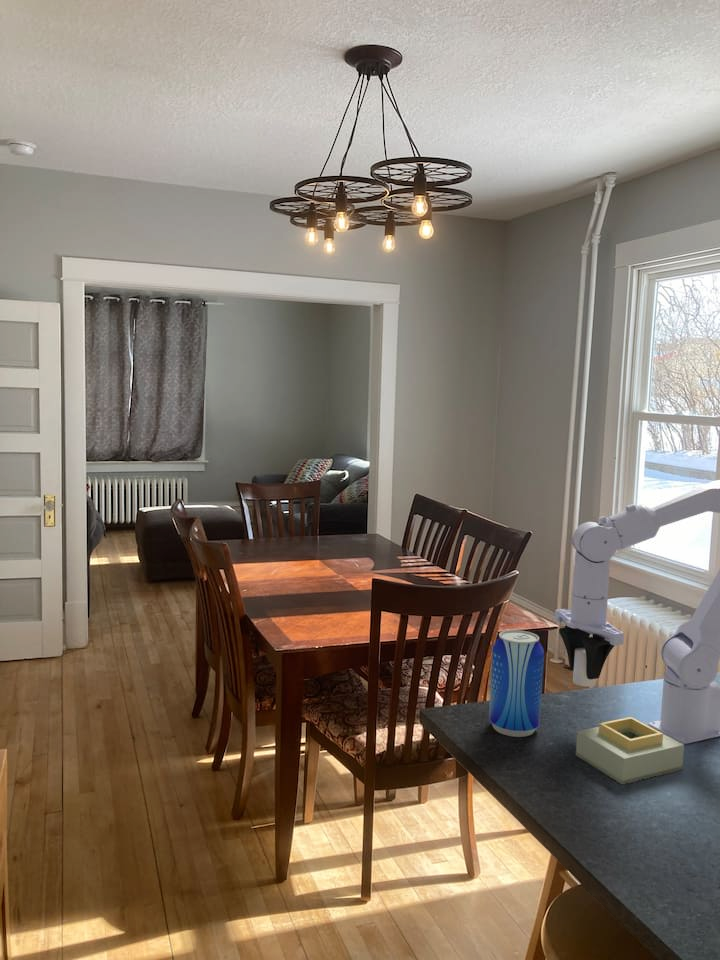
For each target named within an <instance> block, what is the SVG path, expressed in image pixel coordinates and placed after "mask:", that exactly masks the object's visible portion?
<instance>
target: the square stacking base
mask: <svg viewBox="0 0 720 960" xmlns="http://www.w3.org/2000/svg"><path fill="white" fill-rule="evenodd" d="M684 750H685V744H683V743H681V742H679V741H677V740H675V739H673V738H671V737H669V736H667V735H665V734H663V733H662V732H660V731H658V730H656V729H654V728H652V727H650V726H649V725H648V724H645V723H643V722H642V721H640V720H638V719H636V718H634V717H632V716H629V717H625V718H619V719H614V720H608V721H603V722H600V723H598V726H596V727H591V728H587V729H586V728H585V729H580V730H577V733H576V749H575V757H577V758H579V759H581V760H582V761H584V762H585V763H586V764H587V763H588V765H590V766H592V767H593V768H595V769H596V770H597V771H598V770H599V771H600V772H601V773H603V774H604V775H605V776H608V777H609V778H611V779H612V778H613V779H612V780H614V781H615V780H616V782H617V783H619V784H620V785H622V786H623V784H624V785H627V784H626V783H628V784H631V782H632V783H635V781H636V782H639V780H640V781H643V780H642V779H644V780H647V778H648V779H651V778H650V777H652V778H655V777H654V776H656V777H659V775H660V776H662V775H663V774H664V775H667V773H668V774H671V773H676V772H679V771H682V770H683V763H684V761H683V760H684V752H685V751H684Z"/></svg>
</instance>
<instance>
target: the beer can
mask: <svg viewBox="0 0 720 960" xmlns="http://www.w3.org/2000/svg"><path fill="white" fill-rule="evenodd" d="M544 659H545V650H544V648H543V646H542V644H541V642H540V637H539V635H538V634H536V633H533V632H530V631H526V630H521V629H520V630H519V629H507V630H503V631H500V632H499V634H498V637H497V639H496V641H495V642H494V643H493V646H492V653H491V673H490V692H489V707H488V708H489V709H488V721H489V723H491V725H492V727H493V729H494V730H495V731H496V732H497V733H499V734H501V735H505V736H507V737H513V738H515V737H517V738H523V737H529V736H531V735H533V734H534V733H535V731H536V730H537V729H538V728H539V727H540V724H541V707H542V691H543V678H544V677H543V676H544V675H543V674H544V661H545V660H544Z"/></svg>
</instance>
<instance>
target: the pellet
mask: <svg viewBox="0 0 720 960" xmlns="http://www.w3.org/2000/svg"><path fill="white" fill-rule="evenodd" d="M572 672H573V673H572V675H573V676H572V683H573V684H575V685H576V686H579V687H585V688H586V687H588V688H589V687H594V686H595V685H596V679H588V678H587V673H586V652H585V648H576V649H575V656H574V671H572Z"/></svg>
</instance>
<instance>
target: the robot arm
mask: <svg viewBox="0 0 720 960" xmlns="http://www.w3.org/2000/svg"><path fill="white" fill-rule="evenodd" d="M706 512H710V513H715V514H716V513H717V514H720V479H717V480H713V481H710V482H708V483H707V484H704V485H702V486H700V487H698V488H696V489H693V490H691V491H688V492H686V493H684V494H682V495H679V496H677V497H674V498H672V499H670V500H668V501H665V502H663V503H661V504H659V505H656V506H654V507H652V508H651V507H647V506H646V505H644V504H643V505H642V504H639V505H637V506H636V504H633V503H630V504H628V505H625V510H623V511H621V512H620V511H619V512H617V513H615V514H612V515H610V516H607V517H606V516H604V515H602V516H600V517H598V518H597V519H598V523H597V522H595V521H594V522H593V521H586V522H583V523H581V524H580V525H579V526H577V528H576V529H575V530H574V532H573V535H572V536H571V544H572V547H573V548H574V550H575V554H574V555H575V556H574V566H573V576H572V587H571V588H572V590H571V593H572V594H571V606H570V608H571V609H570V610H569V609H566V608H559V609H558V608H557V609H555V611H554V612H555V613H554V621H555V622H557V623H561V622H562V623H564V624H565V626H564V627H560V628H559V629H558V633H559V635H560V638H561V639H562V641H563V644H564V647H565V650H566V655H567V658H568V663H569V668H570V669H569V670H570V671H572V672H573V671H574V656H575V649H576V648H585V652H586V673H587V678H588V679H595V680H596V679H599V678H600V676H601V673H602V670H603V668H604V665H605V662H606V660H607V658H608V656H609V655H610V653H611V652H612V650H613V648H614V647H616V646H620V645H624V640H625V632H623V631H621V630H619V629H618V628H616V627H615V626H613V625H612V624H611V623H609V622H608V621H607V616H608V612H607V611H608V596H609V586H610V585H609V583H610V562H611V559H612V557H613V556H615V554H616V551H622V550H623V549H626V548H628V547H631V546H634V545H637V544H640V543H642V542H644V541H648V540H651V539H653V538H655V537H656V536H657V534H658V532H659V530H660V528H661V527H664V526H666V525H670V524H673V523H676V522H680V521H682V520H685V519H689V518H692V517H695V516H698V515H700V514H703V513H706ZM591 635H592V636H591ZM660 657H661V659H662V661H663V663H664V664H665V665H666V666H665V667H666V668H665V672H664V673H663V685H662V692H661V693H662V696H661V705H660V706H661V708H660V709H661V710H660V720H655V721H650V722H648V723H647V725H648V726H649V727H651V728H653V729H655V730H657V731H659V732H661V733H663V734H665V735H666V736H668V737H670V738H672V739H674V740H676V741H678V742H680V743H682V744H684V745H687V744H692V743H695V742H699V741H704V740H709V739H713V738H717V737H720V685H719V684H718V683H717V682H716V681H715V679H716V678H717V676H718V672H719V671H718V670H719V667H718V666H719V662H720V568H719V569H718V571H717V573H716V575H715V576H714V579H713V580H712V582H711V583H710V585H709V587H708V588H707V590H706V592H705V594H704V595H703V597H702V598H701V601H700V603H699V605H698V606H697V608H696V610H695V611H694V613H693V615H692V617H691V618H690V619H689V620H688V621H686V622H684V623H682V624H680V625H679V626H678V628H677V630H676V631H675V633H673V634H672V635H670V636H669V637H668V638H667V639H665V640H664V642H663V643H662V645H661V648H660Z"/></svg>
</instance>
